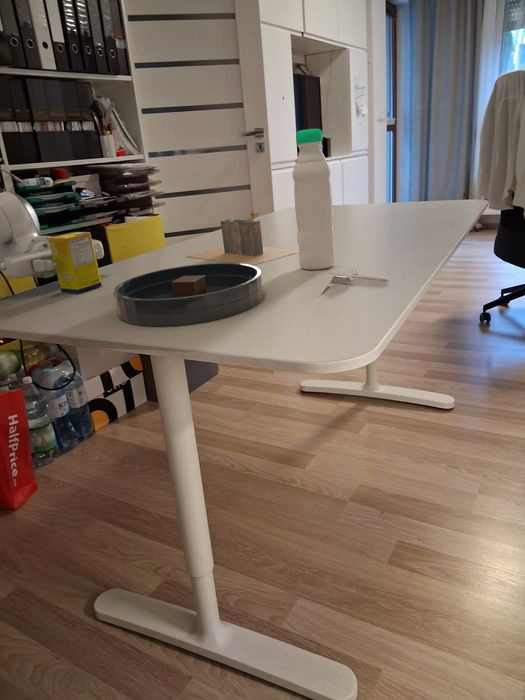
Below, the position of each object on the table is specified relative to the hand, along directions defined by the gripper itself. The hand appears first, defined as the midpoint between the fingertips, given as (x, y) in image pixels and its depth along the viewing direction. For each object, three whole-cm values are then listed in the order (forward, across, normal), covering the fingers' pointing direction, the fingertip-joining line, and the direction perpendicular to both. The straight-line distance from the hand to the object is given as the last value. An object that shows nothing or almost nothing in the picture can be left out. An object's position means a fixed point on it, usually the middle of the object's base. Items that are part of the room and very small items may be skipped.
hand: (75, 260), depth 103 cm
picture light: (+49, +22, +6) cm, 54 cm away
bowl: (+33, 0, +6) cm, 33 cm away
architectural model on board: (+11, +37, +6) cm, 39 cm away
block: (+33, 0, +5) cm, 33 cm away
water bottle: (+37, +30, +6) cm, 48 cm away
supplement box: (0, 0, +6) cm, 6 cm away
